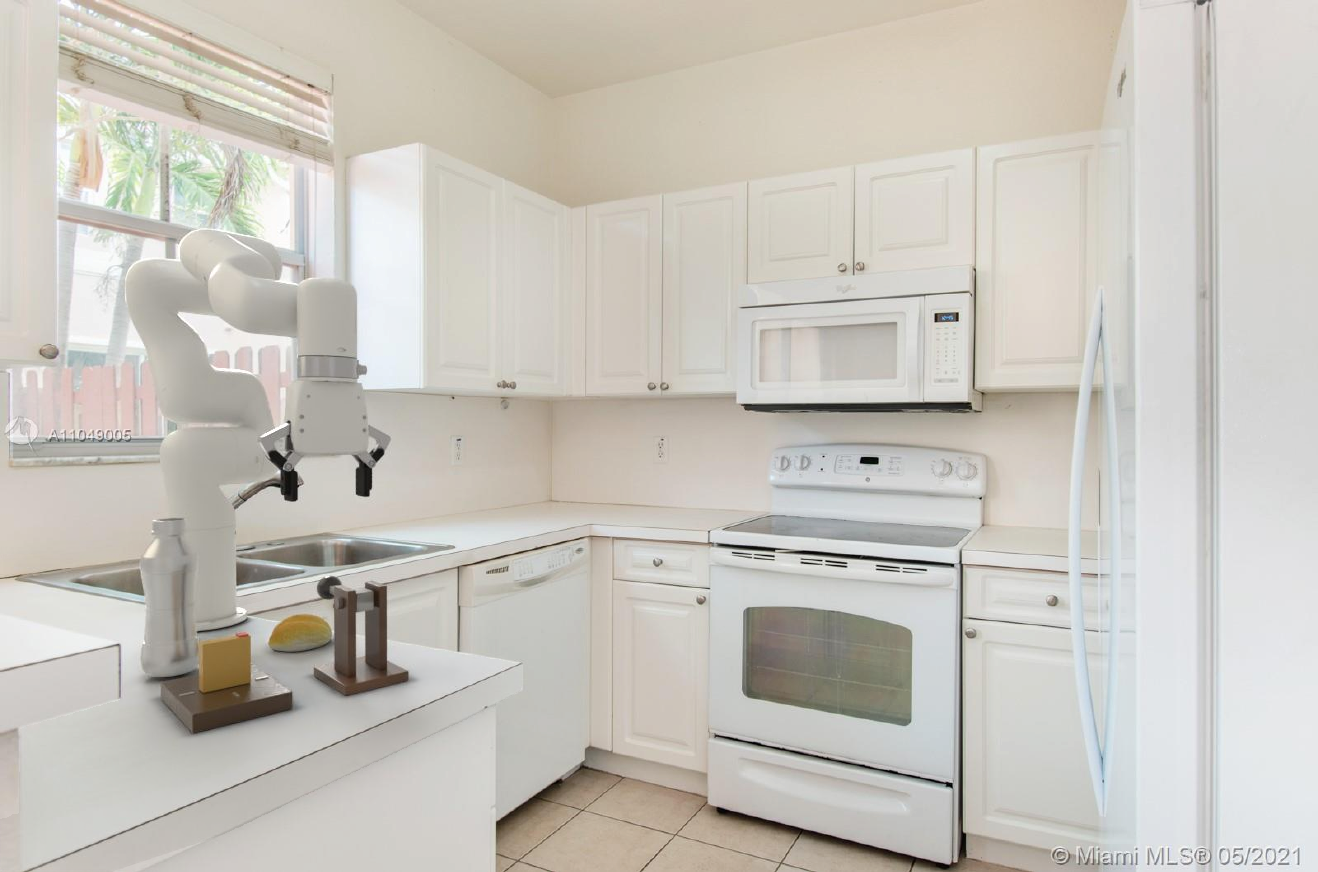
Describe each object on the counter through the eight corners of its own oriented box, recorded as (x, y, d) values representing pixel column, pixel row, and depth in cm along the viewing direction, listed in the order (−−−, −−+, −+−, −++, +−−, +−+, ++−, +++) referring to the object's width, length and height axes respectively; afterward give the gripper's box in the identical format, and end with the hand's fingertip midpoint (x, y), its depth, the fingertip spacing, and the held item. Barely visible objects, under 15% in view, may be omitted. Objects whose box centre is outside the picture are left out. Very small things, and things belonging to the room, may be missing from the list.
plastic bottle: (173, 685, 95) (171, 523, 95) (127, 681, 97) (125, 522, 96) (213, 668, 102) (212, 517, 101) (169, 665, 103) (168, 515, 103)
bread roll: (266, 655, 107) (266, 627, 107) (274, 638, 116) (273, 612, 116) (330, 649, 110) (330, 621, 110) (333, 633, 119) (333, 607, 119)
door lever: (313, 599, 105) (313, 575, 105) (336, 595, 107) (336, 572, 107) (352, 616, 96) (352, 590, 96) (377, 612, 98) (377, 587, 98)
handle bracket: (313, 675, 99) (313, 584, 99) (374, 662, 105) (374, 575, 104) (345, 695, 92) (345, 597, 92) (408, 680, 97) (408, 587, 97)
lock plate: (160, 698, 91) (160, 680, 91) (252, 679, 98) (252, 662, 98) (192, 733, 81) (192, 712, 81) (292, 708, 88) (292, 689, 88)
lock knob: (202, 693, 87) (202, 642, 87) (199, 689, 88) (198, 639, 88) (251, 682, 90) (250, 633, 90) (246, 679, 91) (246, 631, 91)
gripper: (377, 375, 113) (377, 492, 113) (249, 370, 101) (249, 500, 101) (401, 373, 108) (401, 496, 108) (268, 367, 96) (268, 505, 96)
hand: (327, 498), depth 105 cm, fingers open, 9 cm apart
